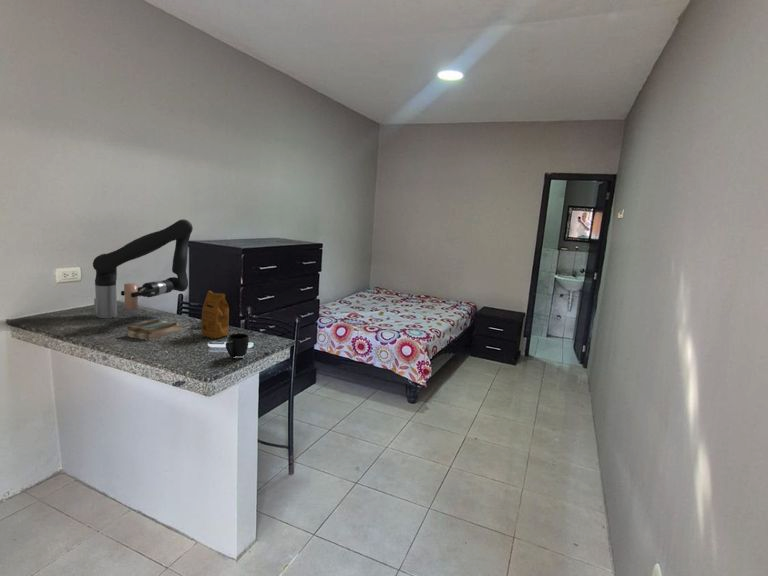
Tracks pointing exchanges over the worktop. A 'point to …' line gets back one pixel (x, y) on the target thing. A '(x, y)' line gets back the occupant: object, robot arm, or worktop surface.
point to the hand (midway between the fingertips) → (126, 294)
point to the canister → (130, 302)
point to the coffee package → (215, 316)
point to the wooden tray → (152, 329)
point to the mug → (237, 344)
